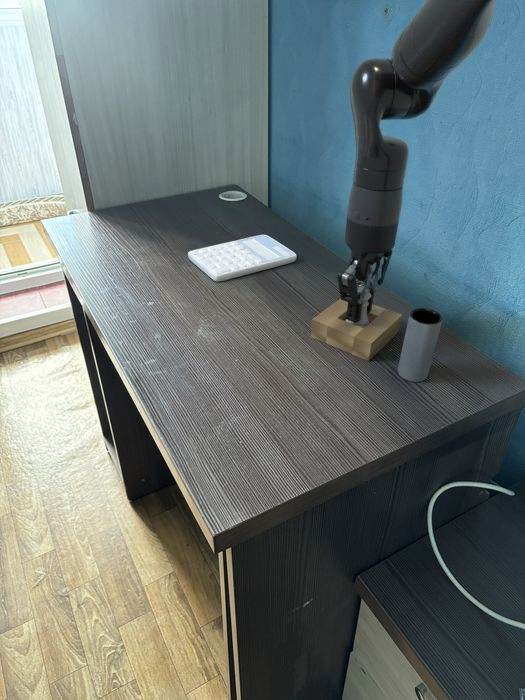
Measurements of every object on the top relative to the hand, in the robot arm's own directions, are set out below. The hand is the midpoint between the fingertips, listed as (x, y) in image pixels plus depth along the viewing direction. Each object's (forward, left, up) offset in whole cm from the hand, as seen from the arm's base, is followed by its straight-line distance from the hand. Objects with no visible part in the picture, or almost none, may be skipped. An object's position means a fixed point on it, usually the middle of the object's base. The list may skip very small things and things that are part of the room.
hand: (358, 315), depth 85 cm
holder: (0, 0, -4) cm, 4 cm away
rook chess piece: (0, 0, -3) cm, 3 cm away
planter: (-12, +4, -4) cm, 13 cm away
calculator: (+33, -10, -4) cm, 35 cm away
